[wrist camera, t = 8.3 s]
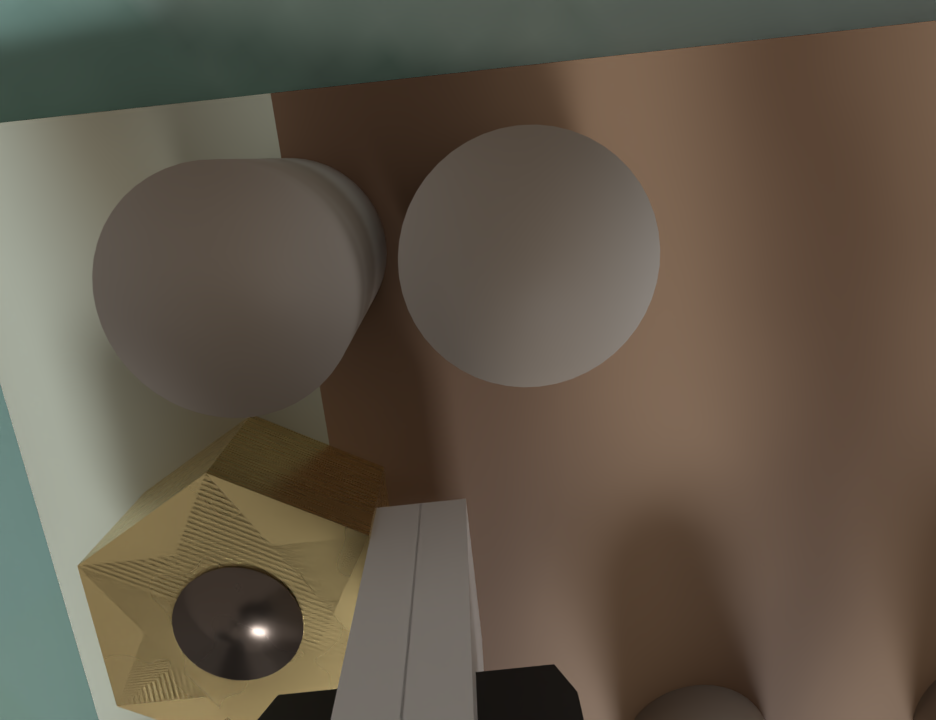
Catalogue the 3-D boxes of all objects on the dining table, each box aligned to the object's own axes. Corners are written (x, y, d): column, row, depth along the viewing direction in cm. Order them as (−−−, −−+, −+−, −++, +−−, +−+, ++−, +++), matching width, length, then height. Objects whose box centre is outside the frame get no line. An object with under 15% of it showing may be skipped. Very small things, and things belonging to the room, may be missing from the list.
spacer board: (179, 877, 17) (69, 1170, 12) (-26, 133, 13) (-335, 119, 8) (1105, 783, 17) (1374, 1041, 12) (1237, -5, 13) (1757, -111, 8)
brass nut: (187, 667, 14) (133, 773, 12) (129, 426, 13) (54, 490, 11) (410, 644, 14) (401, 746, 12) (374, 401, 13) (356, 458, 10)
